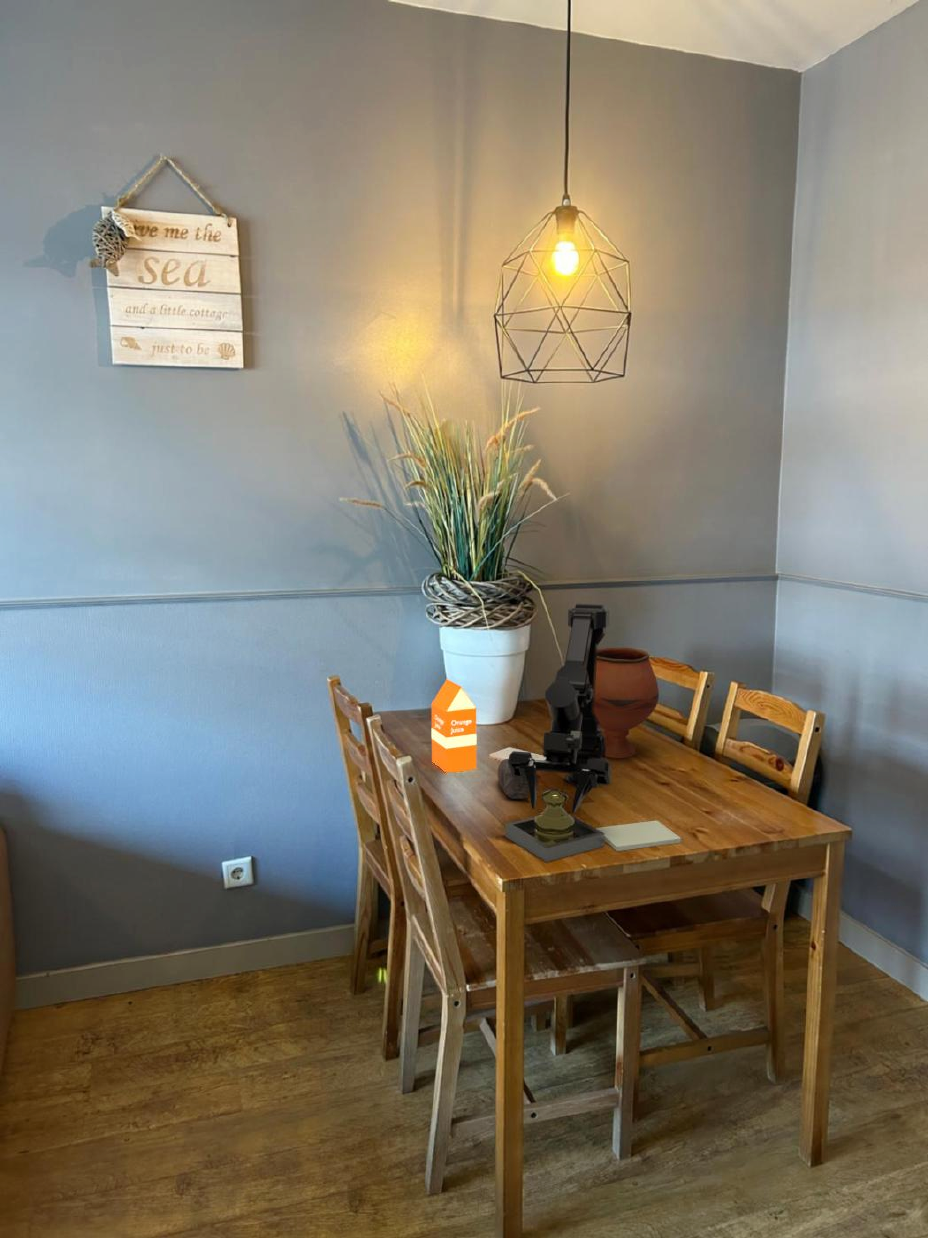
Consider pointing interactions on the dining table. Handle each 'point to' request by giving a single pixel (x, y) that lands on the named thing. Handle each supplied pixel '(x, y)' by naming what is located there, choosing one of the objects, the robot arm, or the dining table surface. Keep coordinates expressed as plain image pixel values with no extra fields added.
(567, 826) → the brass rounded piece
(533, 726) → the dining table surface
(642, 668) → the goblet
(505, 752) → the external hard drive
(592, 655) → the robot arm
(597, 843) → the grey square frame
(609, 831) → the tile
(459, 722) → the orange juice
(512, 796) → the perforated stone tool
